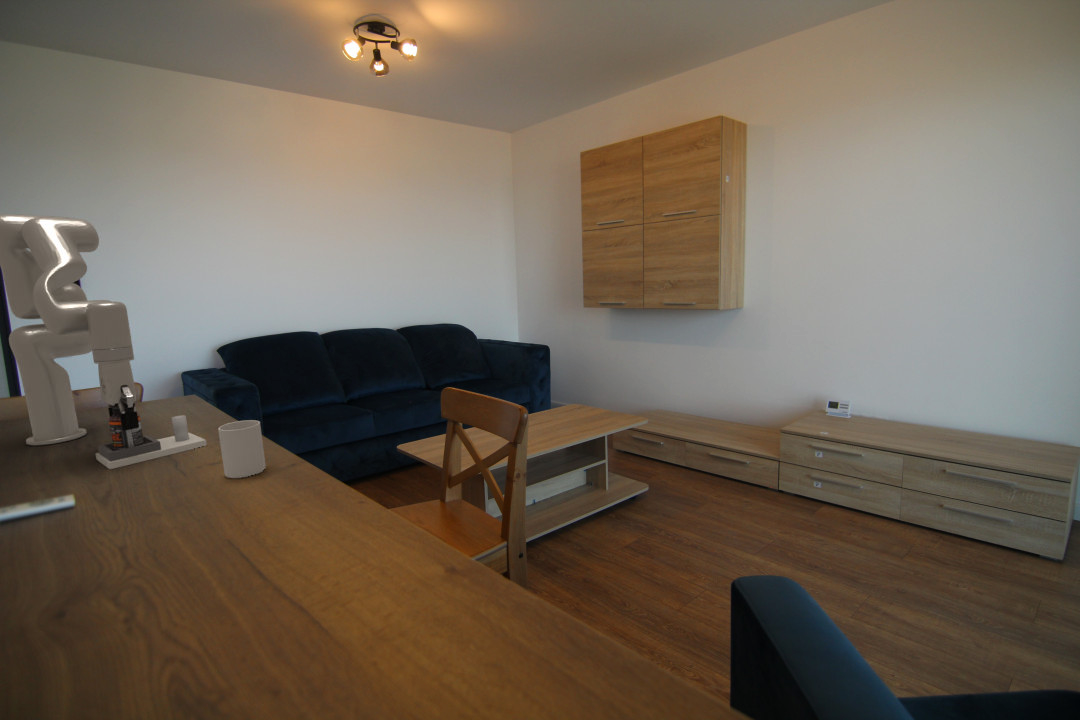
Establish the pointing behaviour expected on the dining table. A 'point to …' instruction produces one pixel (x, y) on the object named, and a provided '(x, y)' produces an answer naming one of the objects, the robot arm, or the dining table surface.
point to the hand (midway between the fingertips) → (124, 425)
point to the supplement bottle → (124, 432)
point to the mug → (242, 448)
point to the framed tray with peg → (151, 447)
